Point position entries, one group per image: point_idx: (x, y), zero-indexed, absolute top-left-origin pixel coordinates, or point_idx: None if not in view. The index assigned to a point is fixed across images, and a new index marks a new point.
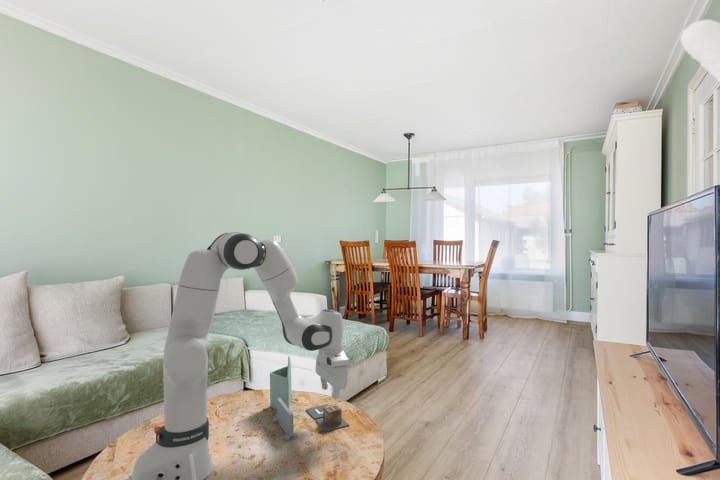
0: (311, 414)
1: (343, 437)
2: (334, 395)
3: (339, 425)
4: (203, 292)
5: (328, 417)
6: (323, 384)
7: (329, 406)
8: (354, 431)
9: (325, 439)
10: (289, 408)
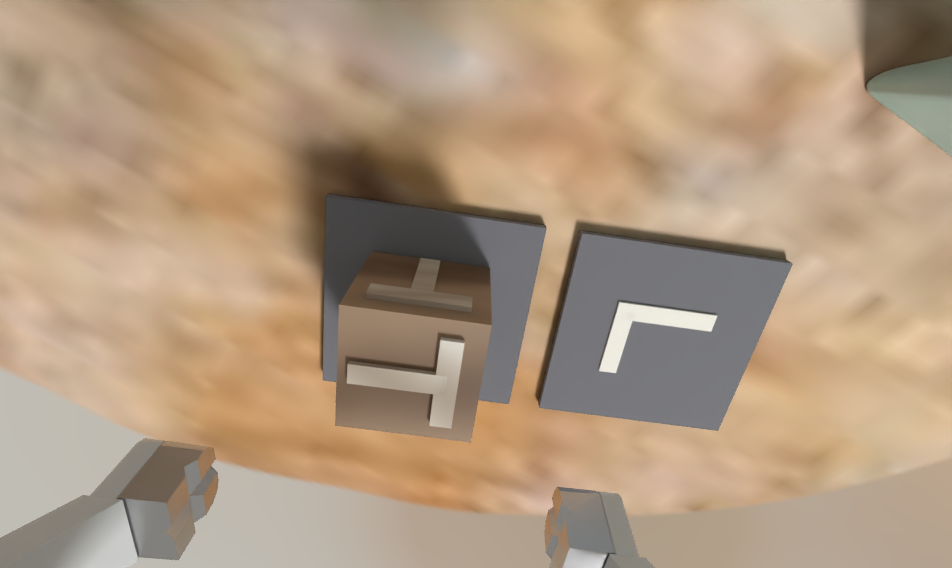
0: (666, 251)
1: (186, 258)
2: (105, 481)
3: None
4: None
5: (355, 282)
6: (601, 564)
7: (449, 375)
8: (232, 360)
9: (218, 129)
10: (937, 135)
